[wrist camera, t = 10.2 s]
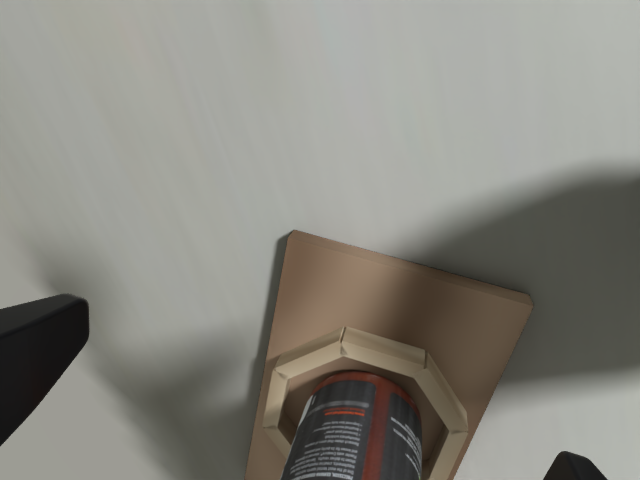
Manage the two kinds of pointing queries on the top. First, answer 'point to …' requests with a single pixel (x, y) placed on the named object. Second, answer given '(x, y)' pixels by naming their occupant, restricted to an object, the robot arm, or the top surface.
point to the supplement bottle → (357, 432)
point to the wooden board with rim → (383, 345)
